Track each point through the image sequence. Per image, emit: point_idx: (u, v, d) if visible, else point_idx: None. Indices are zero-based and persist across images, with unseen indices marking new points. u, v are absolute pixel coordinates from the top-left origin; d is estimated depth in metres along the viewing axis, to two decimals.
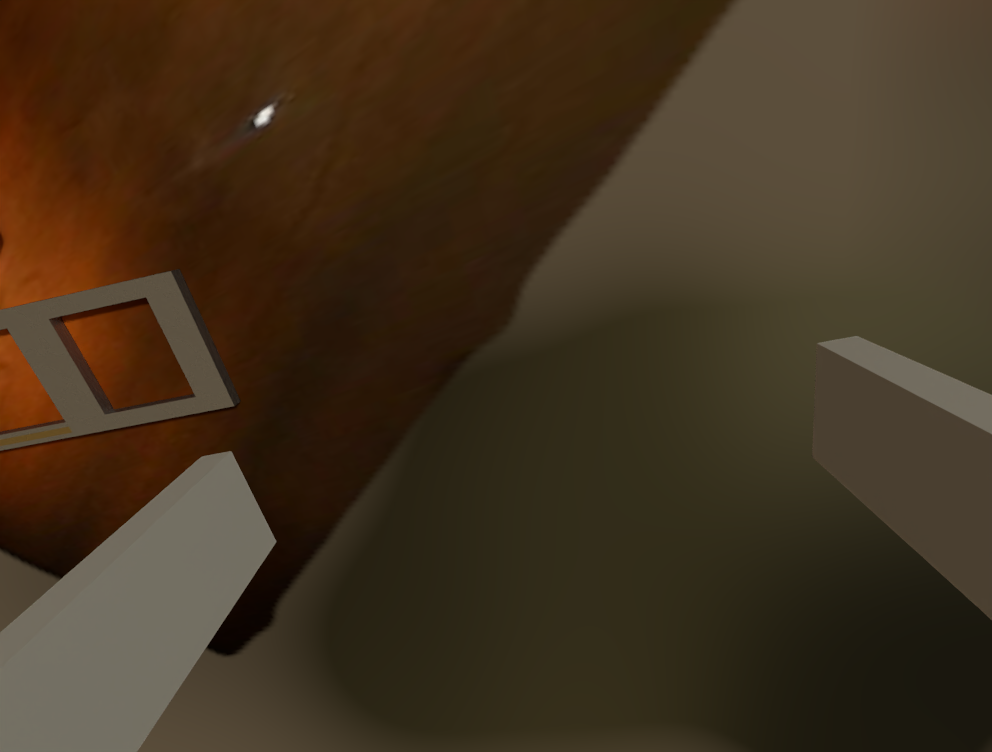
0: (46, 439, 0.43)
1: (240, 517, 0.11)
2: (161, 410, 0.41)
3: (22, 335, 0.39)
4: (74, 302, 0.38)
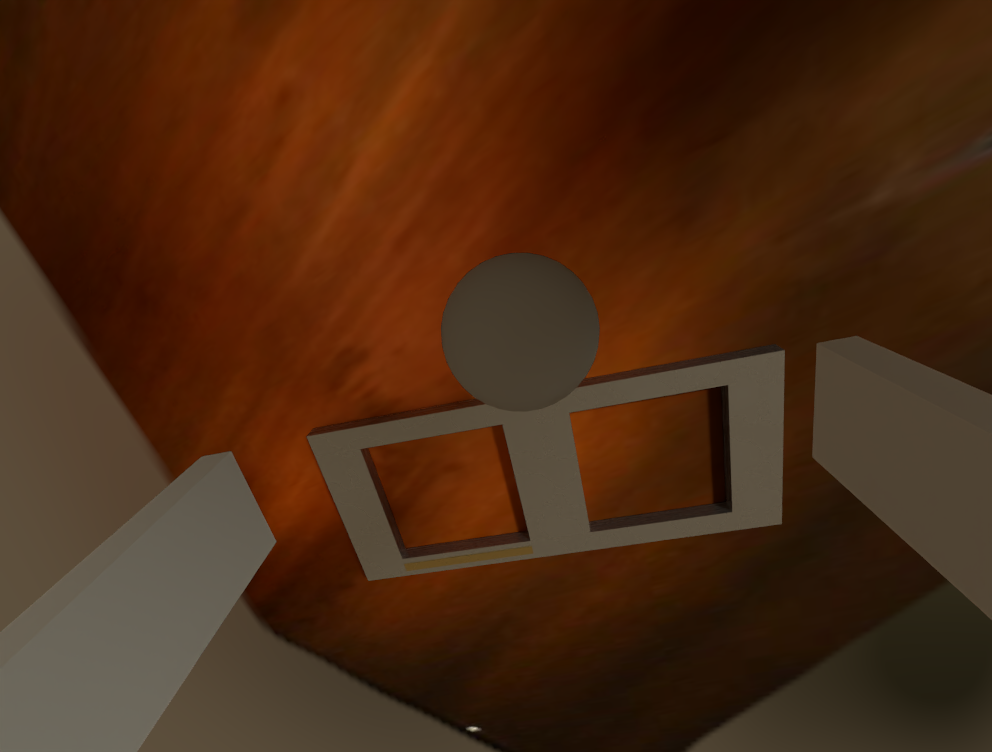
0: (493, 561, 0.32)
1: (240, 517, 0.11)
2: (673, 528, 0.30)
3: (519, 433, 0.28)
4: (617, 391, 0.27)
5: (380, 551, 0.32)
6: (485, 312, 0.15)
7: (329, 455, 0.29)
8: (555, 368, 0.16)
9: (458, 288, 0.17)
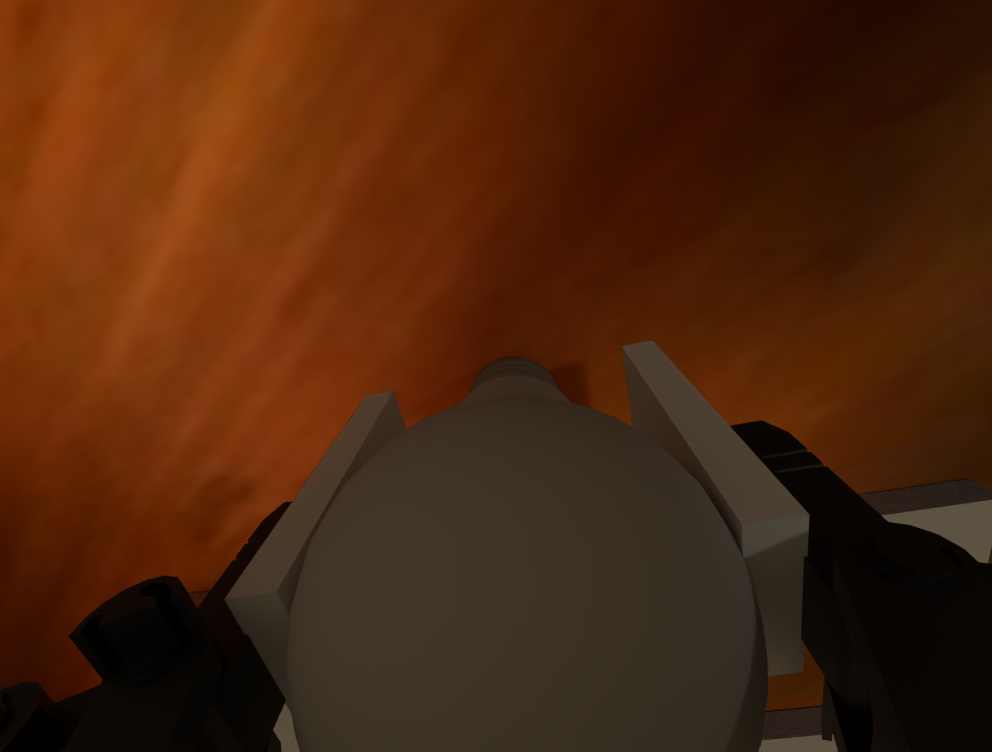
0: None
1: None
2: (767, 750, 0.19)
3: None
4: None
5: None
6: (392, 720, 0.04)
7: None
8: None
9: (327, 535, 0.05)
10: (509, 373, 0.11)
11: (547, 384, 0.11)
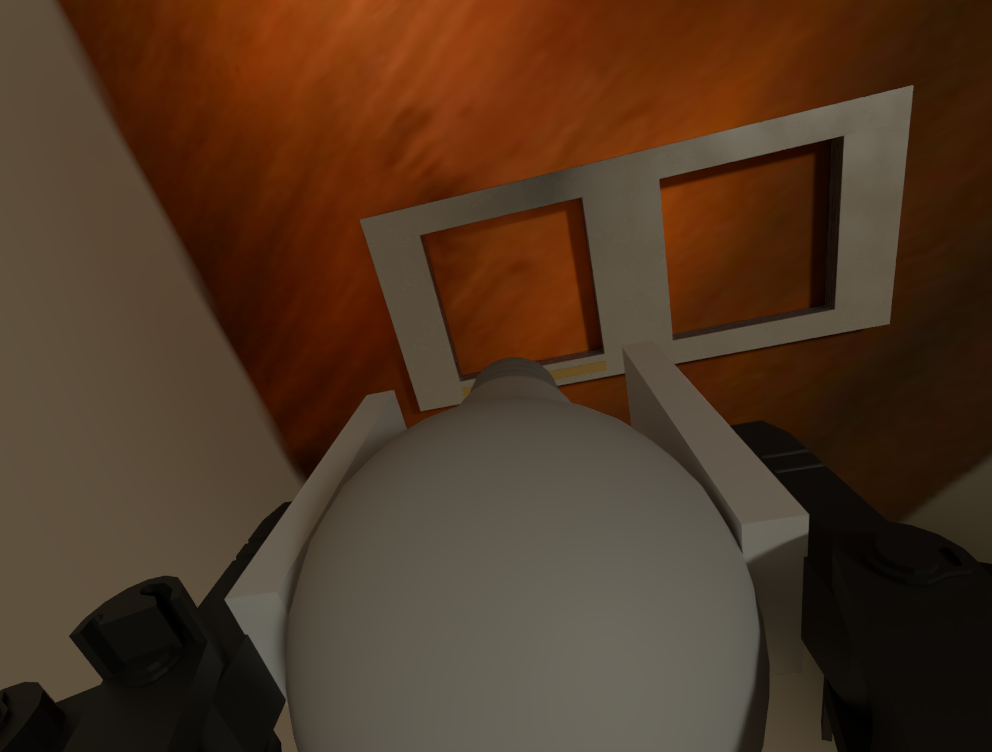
0: (561, 382, 0.29)
1: None
2: (767, 333, 0.27)
3: (601, 209, 0.25)
4: (717, 148, 0.23)
5: (435, 371, 0.29)
6: (391, 723, 0.04)
7: (385, 245, 0.26)
8: None
9: (326, 537, 0.05)
10: (509, 373, 0.11)
11: (547, 384, 0.11)
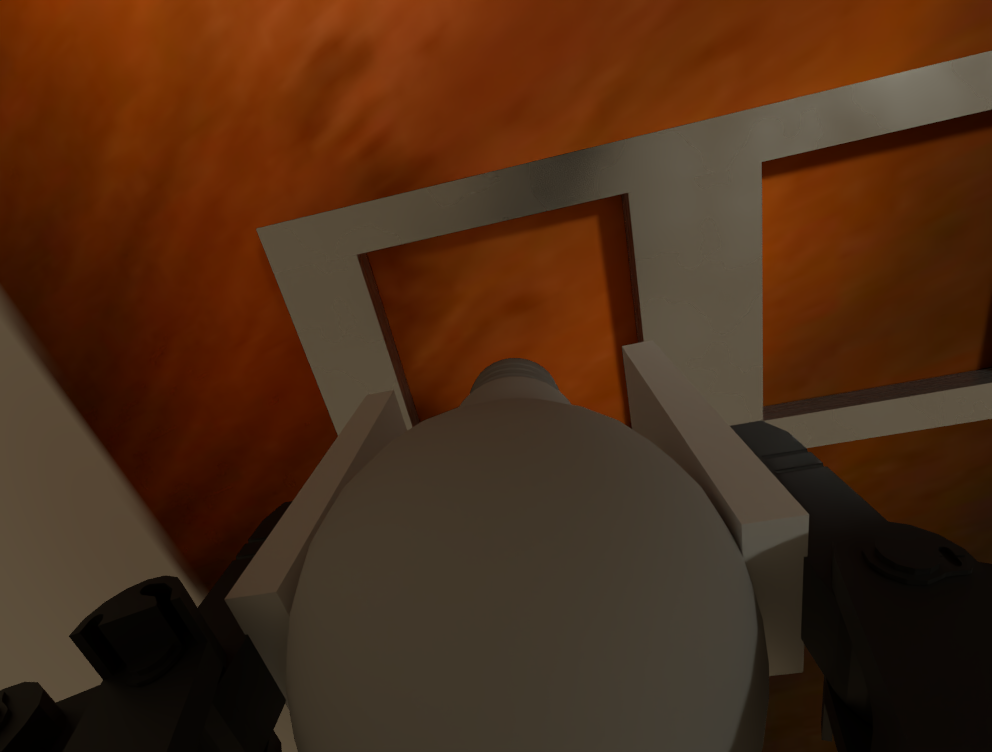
0: None
1: None
2: (914, 411, 0.17)
3: (660, 213, 0.15)
4: (867, 107, 0.13)
5: None
6: (391, 724, 0.04)
7: (300, 270, 0.16)
8: None
9: (326, 538, 0.05)
10: (509, 374, 0.11)
11: (547, 385, 0.11)
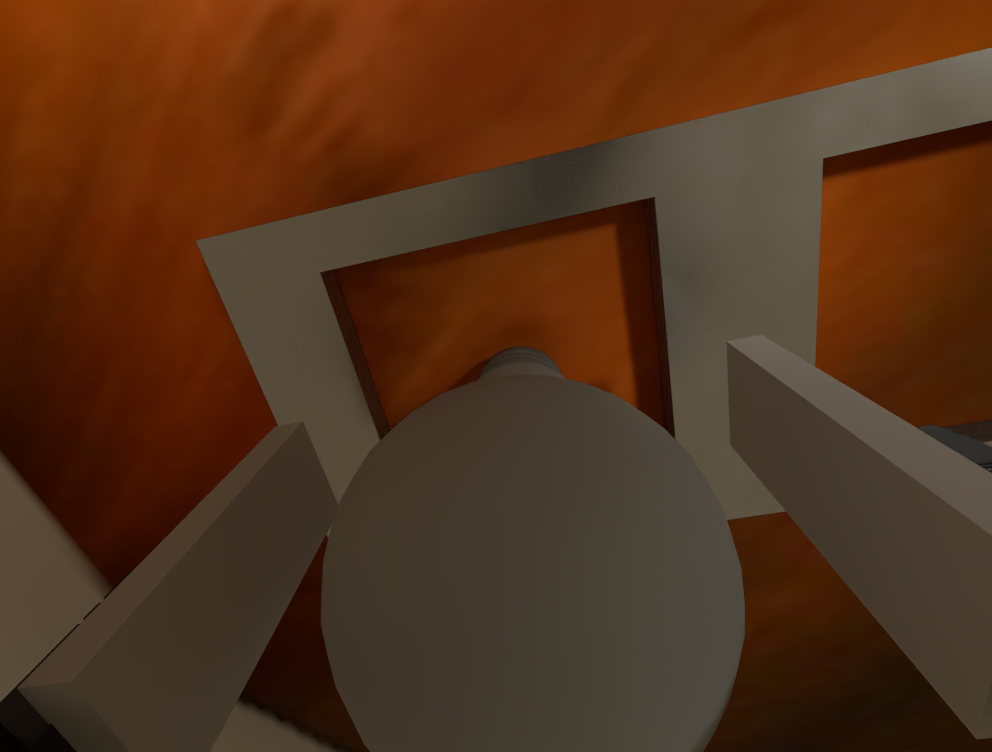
0: None
1: (312, 482, 0.11)
2: None
3: (693, 222, 0.12)
4: (960, 89, 0.11)
5: None
6: (419, 634, 0.05)
7: (252, 291, 0.13)
8: None
9: (358, 491, 0.06)
10: (516, 360, 0.12)
11: (552, 370, 0.11)
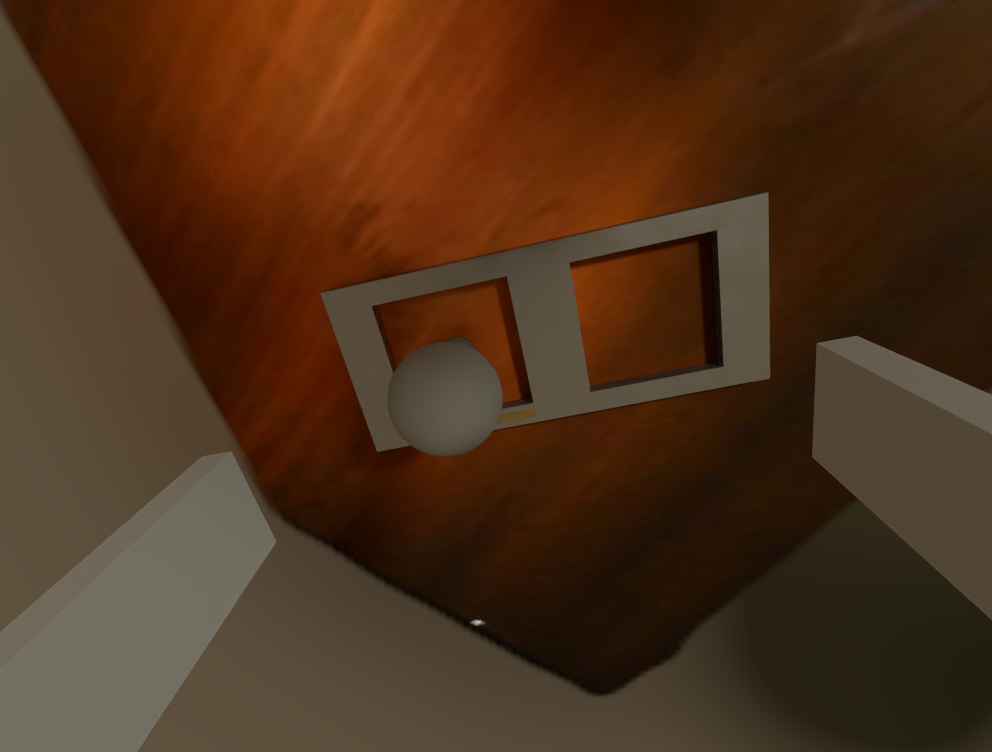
0: (498, 426, 0.33)
1: (240, 517, 0.11)
2: (669, 386, 0.32)
3: (523, 286, 0.29)
4: (615, 238, 0.28)
5: (389, 418, 0.33)
6: (414, 391, 0.22)
7: (342, 314, 0.30)
8: (463, 429, 0.22)
9: (398, 369, 0.24)
10: (453, 342, 0.30)
11: (465, 345, 0.29)
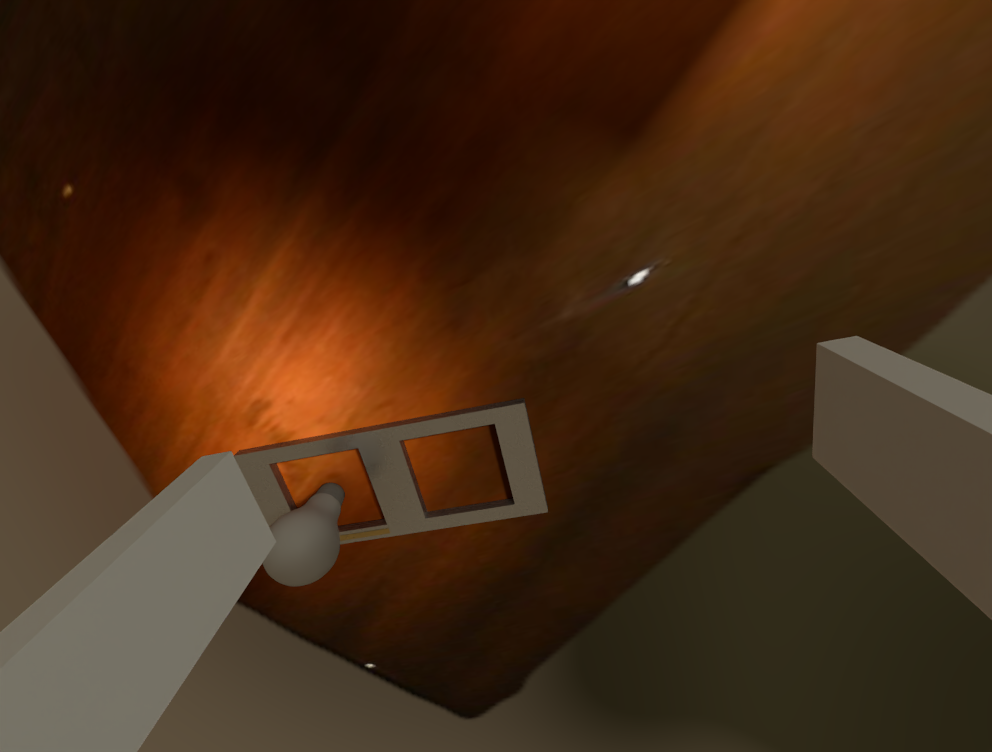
0: (364, 539, 0.47)
1: (240, 517, 0.11)
2: (479, 515, 0.46)
3: (370, 454, 0.43)
4: (427, 427, 0.42)
5: None
6: (271, 553, 0.36)
7: (249, 468, 0.44)
8: (302, 575, 0.36)
9: None
10: (323, 490, 0.44)
11: (329, 496, 0.43)
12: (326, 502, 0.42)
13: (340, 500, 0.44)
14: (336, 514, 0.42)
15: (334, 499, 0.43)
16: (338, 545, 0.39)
